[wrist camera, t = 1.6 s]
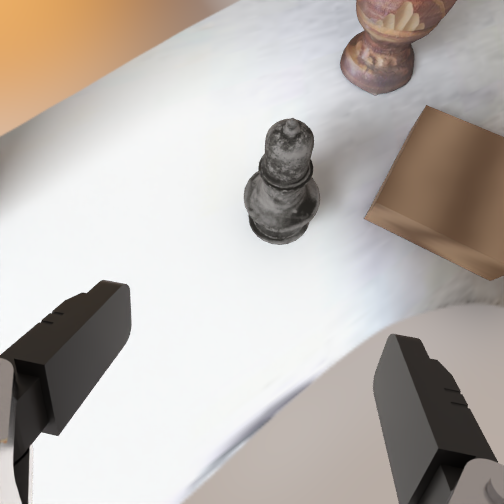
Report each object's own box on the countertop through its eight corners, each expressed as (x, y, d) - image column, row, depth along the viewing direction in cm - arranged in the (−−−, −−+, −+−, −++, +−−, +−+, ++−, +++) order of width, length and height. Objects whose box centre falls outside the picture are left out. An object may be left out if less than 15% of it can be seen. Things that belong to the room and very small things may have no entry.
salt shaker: (245, 187, 30) (238, 77, 19) (310, 186, 30) (342, 75, 19) (245, 248, 28) (237, 165, 17) (314, 247, 28) (353, 164, 17)
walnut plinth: (364, 218, 29) (375, 202, 26) (411, 128, 32) (426, 105, 29) (490, 280, 27) (517, 270, 24) (527, 178, 30) (555, 158, 27)
